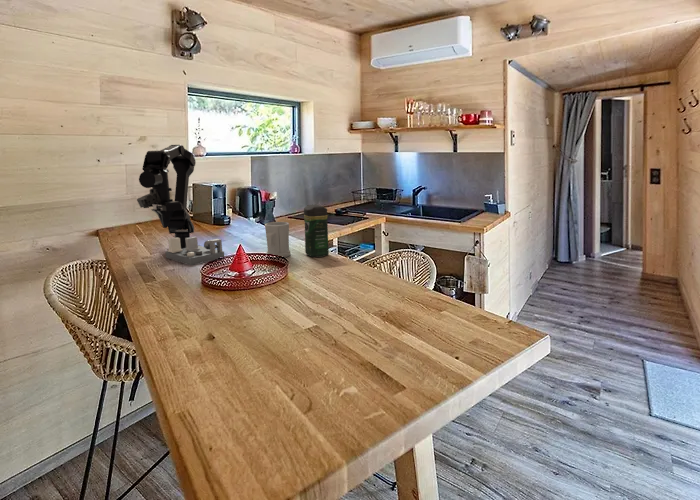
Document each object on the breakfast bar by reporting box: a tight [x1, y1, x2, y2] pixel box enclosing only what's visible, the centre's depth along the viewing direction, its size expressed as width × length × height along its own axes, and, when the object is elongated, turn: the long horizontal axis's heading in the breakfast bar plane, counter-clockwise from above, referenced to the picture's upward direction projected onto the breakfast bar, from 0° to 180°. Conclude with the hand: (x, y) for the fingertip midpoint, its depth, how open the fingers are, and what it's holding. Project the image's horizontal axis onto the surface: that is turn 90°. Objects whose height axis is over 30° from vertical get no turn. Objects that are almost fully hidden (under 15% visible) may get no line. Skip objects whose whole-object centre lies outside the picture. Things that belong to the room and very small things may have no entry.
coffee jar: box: [303, 204, 330, 258], centre depth 171 cm, size 10×8×19 cm
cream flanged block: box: [167, 237, 183, 253], centre depth 171 cm, size 4×4×5 cm
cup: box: [264, 221, 291, 258], centre depth 171 cm, size 10×9×12 cm
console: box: [165, 238, 225, 266], centre depth 172 cm, size 18×14×7 cm
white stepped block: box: [185, 236, 200, 252], centre depth 172 cm, size 4×4×5 cm
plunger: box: [203, 240, 218, 249], centre depth 171 cm, size 6×3×3 cm, turn 48°
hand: (165, 227), depth 174 cm, fingers closed
